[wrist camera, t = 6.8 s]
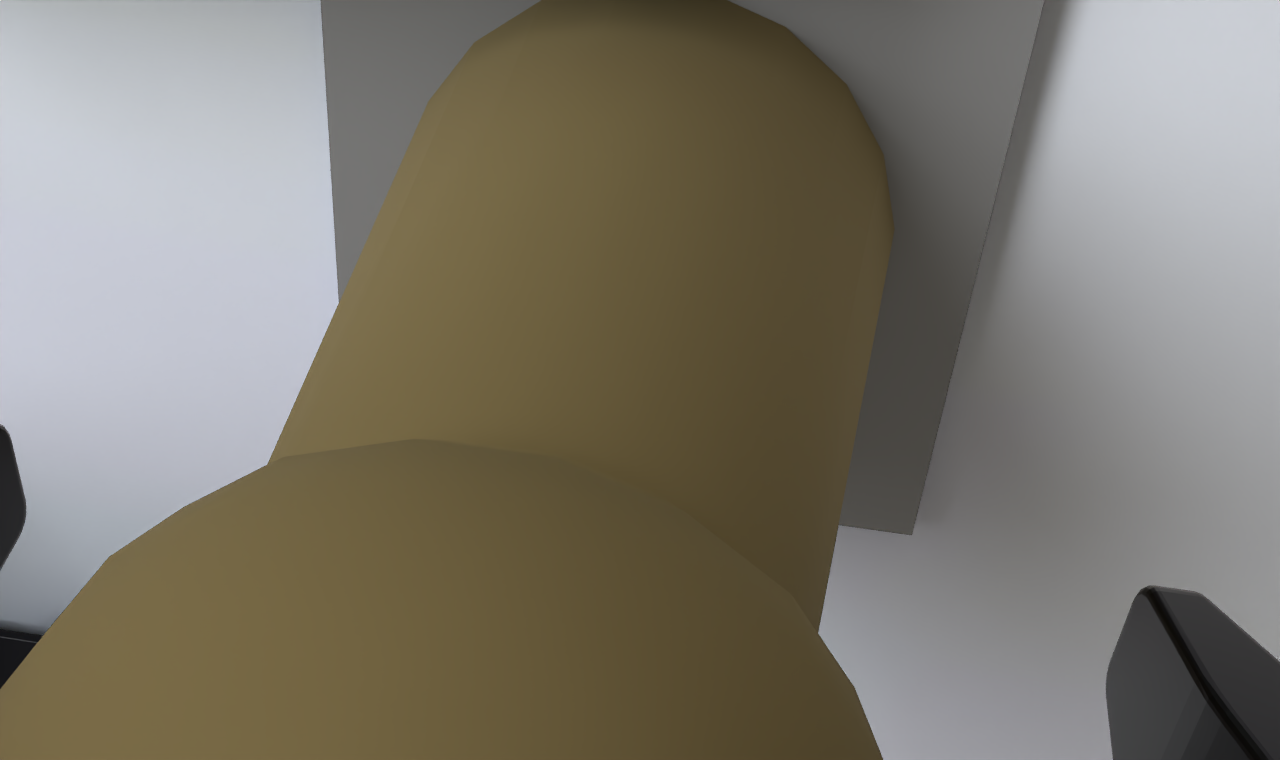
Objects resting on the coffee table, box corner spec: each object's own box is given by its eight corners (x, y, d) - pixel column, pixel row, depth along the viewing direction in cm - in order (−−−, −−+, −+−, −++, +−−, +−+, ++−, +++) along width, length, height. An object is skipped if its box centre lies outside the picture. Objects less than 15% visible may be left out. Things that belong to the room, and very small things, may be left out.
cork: (446, 440, 17) (-38, 1435, 7) (361, -4, 14) (-668, 716, 4) (888, 441, 16) (993, 1584, 6) (901, -35, 13) (1150, 799, 3)
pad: (909, 517, 17) (911, 535, 16) (357, 441, 17) (348, 455, 17) (1055, -82, 13) (1063, -74, 12) (324, -157, 13) (311, -152, 13)
